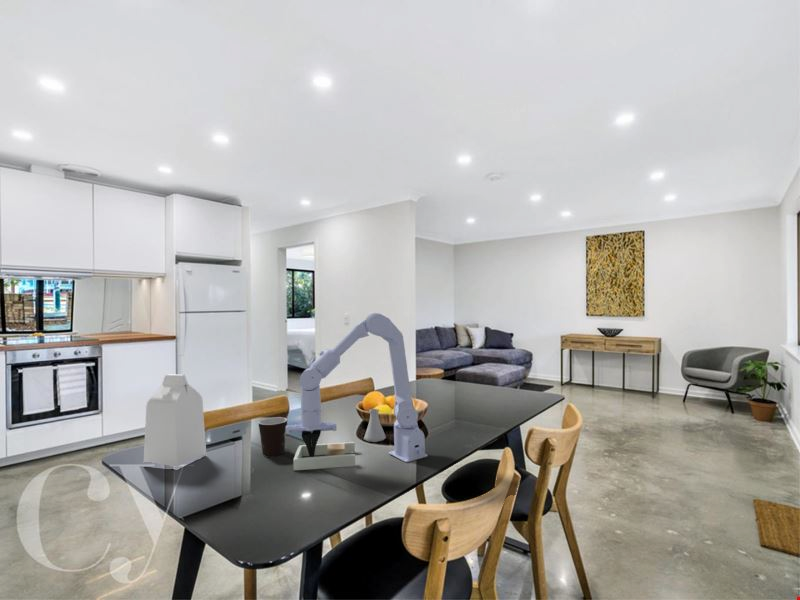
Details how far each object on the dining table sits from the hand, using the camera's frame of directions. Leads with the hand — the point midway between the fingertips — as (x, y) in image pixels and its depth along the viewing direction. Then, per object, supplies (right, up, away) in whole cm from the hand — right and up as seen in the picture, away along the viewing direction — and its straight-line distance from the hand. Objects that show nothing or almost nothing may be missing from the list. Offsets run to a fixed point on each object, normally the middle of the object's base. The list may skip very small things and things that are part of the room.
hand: (311, 456), depth 119 cm
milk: (-41, -3, +3) cm, 42 cm away
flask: (+17, -2, +19) cm, 26 cm away
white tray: (+5, -1, +1) cm, 5 cm away
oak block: (+7, -2, +1) cm, 7 cm away
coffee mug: (-13, -2, +10) cm, 17 cm away
